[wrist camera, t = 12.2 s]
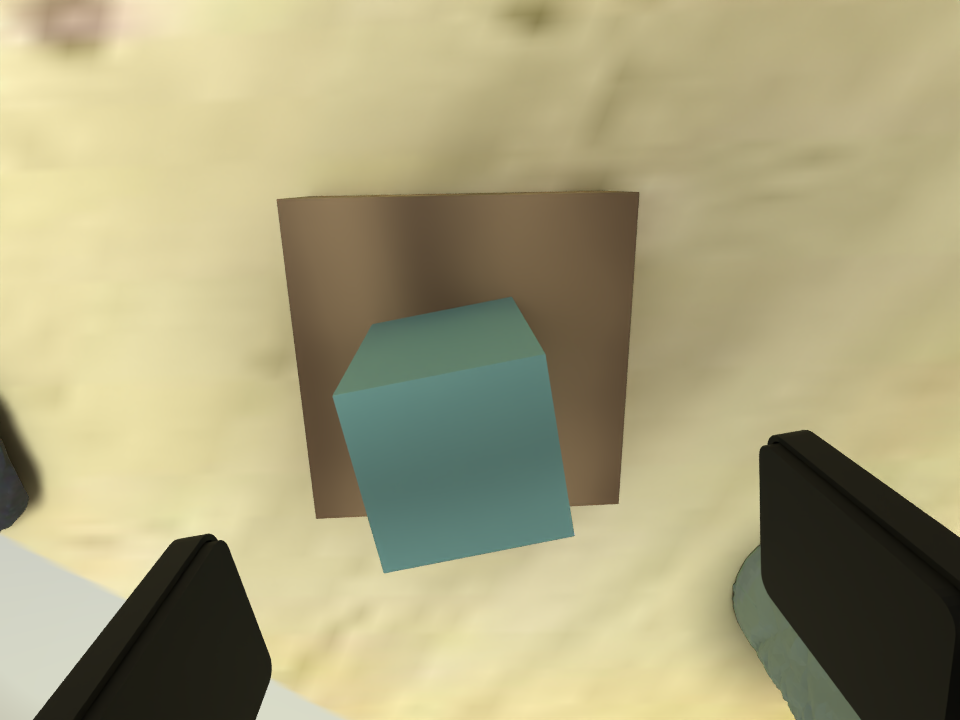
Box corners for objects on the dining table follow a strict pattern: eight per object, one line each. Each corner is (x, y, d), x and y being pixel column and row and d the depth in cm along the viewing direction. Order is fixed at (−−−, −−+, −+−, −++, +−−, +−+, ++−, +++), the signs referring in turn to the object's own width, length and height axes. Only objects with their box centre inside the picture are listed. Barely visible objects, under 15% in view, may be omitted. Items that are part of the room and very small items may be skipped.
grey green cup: (721, 671, 31) (880, 951, 20) (711, 521, 28) (892, 750, 17) (897, 637, 31) (1156, 897, 20) (906, 482, 28) (1221, 685, 17)
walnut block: (599, 190, 23) (639, 192, 19) (587, 447, 27) (618, 503, 22) (311, 196, 23) (276, 199, 18) (339, 458, 26) (316, 518, 22)
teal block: (511, 296, 19) (545, 353, 13) (533, 425, 21) (574, 535, 14) (372, 324, 19) (332, 396, 13) (404, 450, 21) (383, 573, 14)
